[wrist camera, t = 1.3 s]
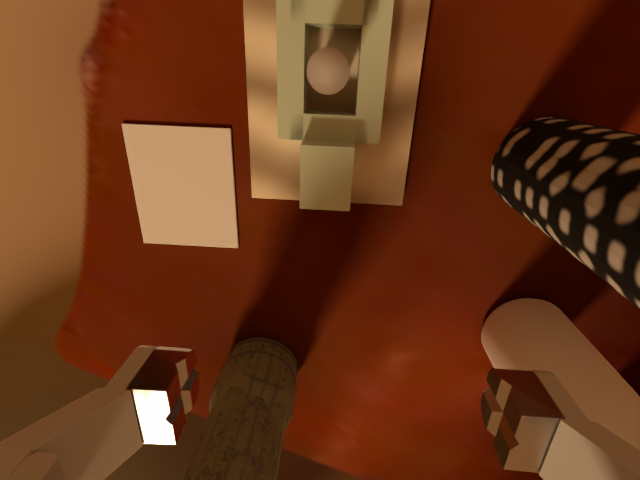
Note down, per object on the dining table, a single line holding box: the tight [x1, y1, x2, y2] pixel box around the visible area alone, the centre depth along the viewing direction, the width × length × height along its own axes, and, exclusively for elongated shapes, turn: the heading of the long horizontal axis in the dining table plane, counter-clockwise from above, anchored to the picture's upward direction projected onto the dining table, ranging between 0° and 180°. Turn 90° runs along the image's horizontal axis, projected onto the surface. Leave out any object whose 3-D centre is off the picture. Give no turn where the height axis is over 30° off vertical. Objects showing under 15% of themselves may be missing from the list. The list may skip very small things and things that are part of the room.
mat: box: [122, 123, 239, 248], centre depth 36 cm, size 12×10×1 cm
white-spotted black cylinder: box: [491, 117, 640, 309], centre depth 24 cm, size 8×8×20 cm
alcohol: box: [481, 298, 640, 450], centre depth 27 cm, size 9×9×30 cm
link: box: [276, 0, 394, 211], centre depth 28 cm, size 15×8×5 cm, turn 178°
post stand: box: [243, 0, 430, 205], centre depth 26 cm, size 18×14×12 cm
